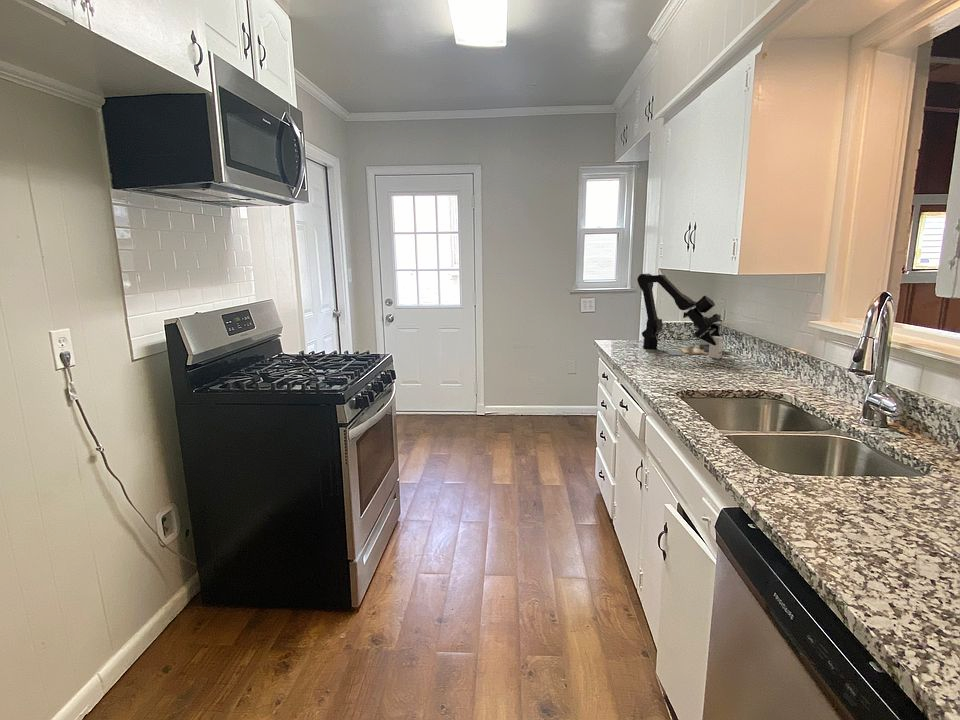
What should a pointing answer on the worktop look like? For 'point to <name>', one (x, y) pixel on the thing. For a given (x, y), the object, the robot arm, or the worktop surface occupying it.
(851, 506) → the worktop surface
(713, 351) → the block
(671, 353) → the phone
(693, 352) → the dock station
